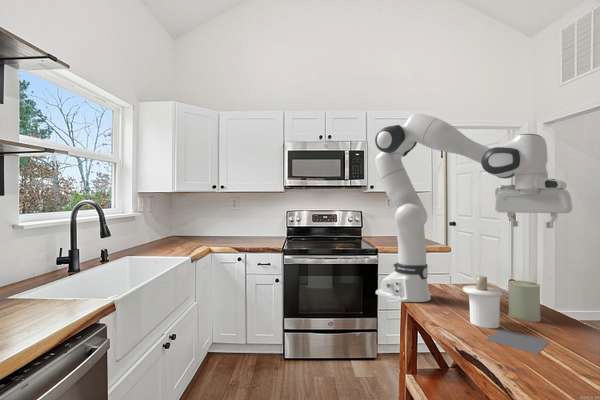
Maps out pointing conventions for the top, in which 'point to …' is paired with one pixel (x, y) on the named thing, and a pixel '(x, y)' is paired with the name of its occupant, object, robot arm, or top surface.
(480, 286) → the lid
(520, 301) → the can
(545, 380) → the top surface
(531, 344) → the mat
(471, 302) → the mug
